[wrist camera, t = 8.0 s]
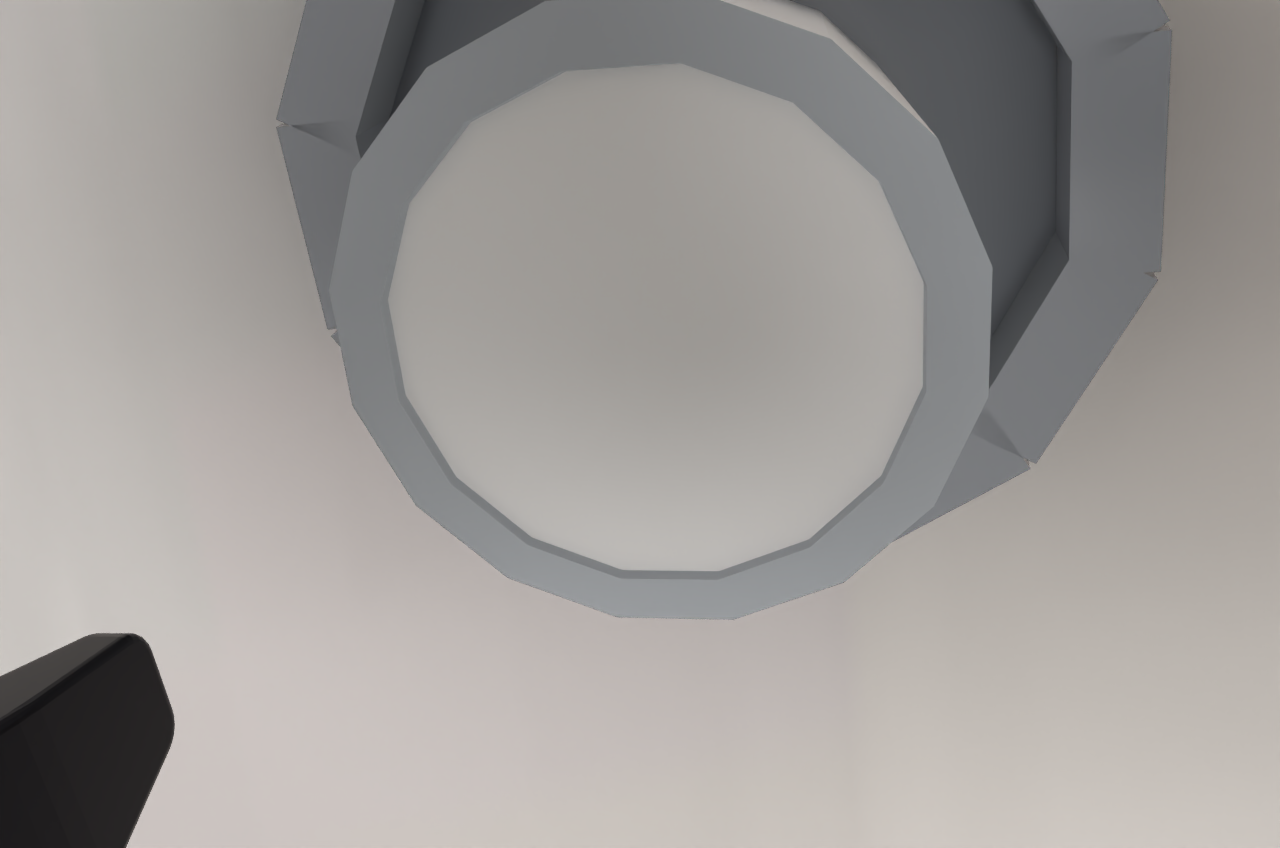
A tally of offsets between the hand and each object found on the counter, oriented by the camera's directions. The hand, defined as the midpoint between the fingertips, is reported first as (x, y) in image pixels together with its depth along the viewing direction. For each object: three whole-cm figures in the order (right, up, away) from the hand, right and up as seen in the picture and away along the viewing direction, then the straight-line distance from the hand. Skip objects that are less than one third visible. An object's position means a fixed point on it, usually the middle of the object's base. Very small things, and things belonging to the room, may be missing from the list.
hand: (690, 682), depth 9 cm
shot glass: (+1, +6, +10) cm, 11 cm away
